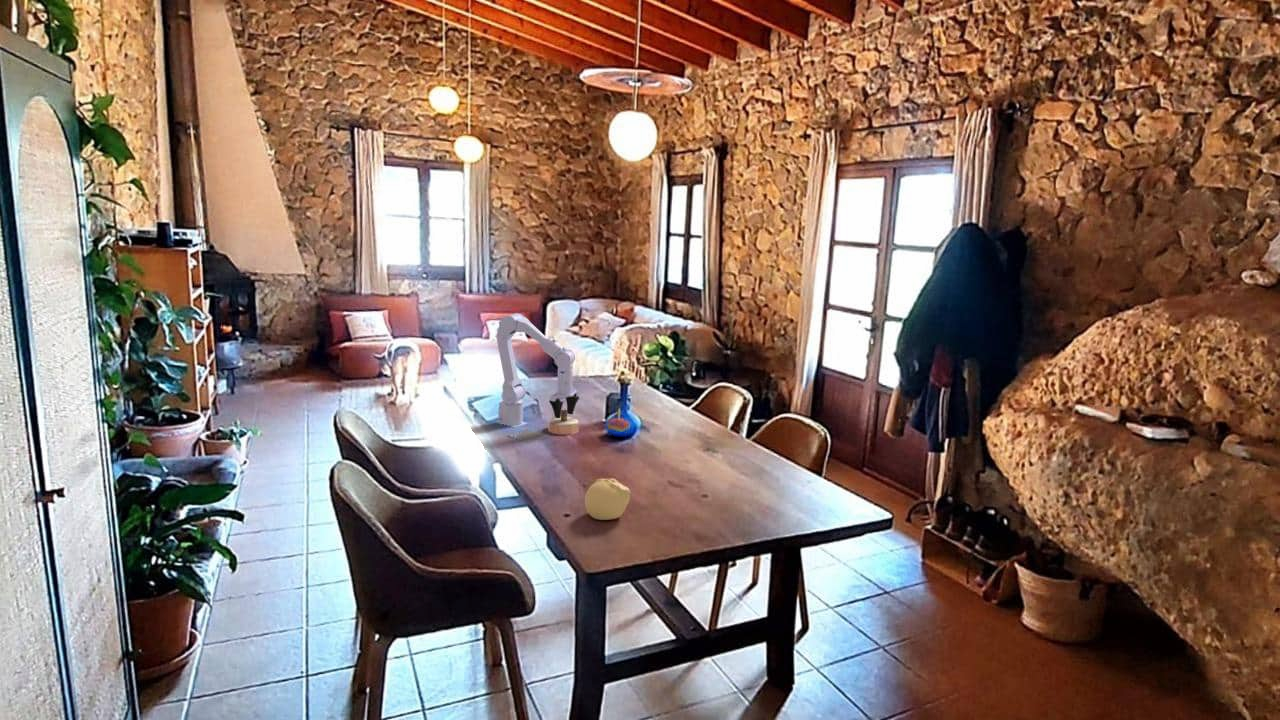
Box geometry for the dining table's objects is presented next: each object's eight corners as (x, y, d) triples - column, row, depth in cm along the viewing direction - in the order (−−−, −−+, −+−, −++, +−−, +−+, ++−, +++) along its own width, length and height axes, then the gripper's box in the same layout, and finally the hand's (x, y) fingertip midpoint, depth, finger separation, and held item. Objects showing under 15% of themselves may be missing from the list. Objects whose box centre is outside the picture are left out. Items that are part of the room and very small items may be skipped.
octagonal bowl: (541, 430, 283) (541, 422, 282) (561, 424, 292) (561, 416, 292) (565, 437, 276) (565, 428, 275) (585, 430, 286) (585, 421, 285)
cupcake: (629, 440, 277) (630, 409, 274) (606, 438, 277) (607, 408, 274) (629, 433, 285) (631, 403, 283) (608, 432, 285) (609, 402, 283)
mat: (504, 436, 273) (504, 435, 273) (526, 430, 283) (526, 429, 283) (528, 443, 267) (528, 442, 267) (550, 436, 276) (550, 435, 276)
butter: (635, 516, 206) (636, 480, 204) (605, 528, 198) (606, 490, 195) (606, 504, 214) (607, 469, 212) (576, 515, 205) (577, 479, 203)
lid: (544, 422, 281) (544, 411, 281) (560, 416, 291) (560, 405, 290) (567, 427, 276) (567, 416, 275) (583, 421, 286) (583, 410, 285)
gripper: (560, 386, 272) (559, 421, 275) (584, 380, 284) (583, 414, 287) (546, 383, 276) (545, 418, 279) (570, 377, 288) (569, 410, 291)
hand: (563, 415), depth 283 cm, fingers open, 7 cm apart
